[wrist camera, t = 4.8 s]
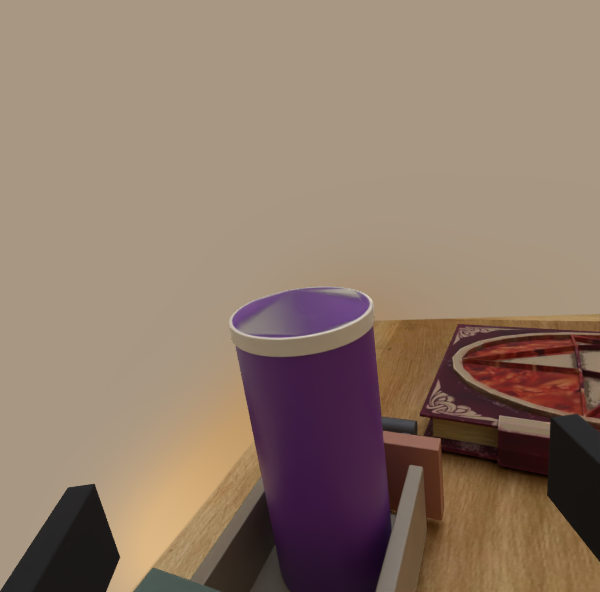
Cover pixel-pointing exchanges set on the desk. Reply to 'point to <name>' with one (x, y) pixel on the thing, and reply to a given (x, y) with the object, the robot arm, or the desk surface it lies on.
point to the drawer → (405, 524)
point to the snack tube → (318, 433)
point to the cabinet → (169, 583)
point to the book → (512, 391)
